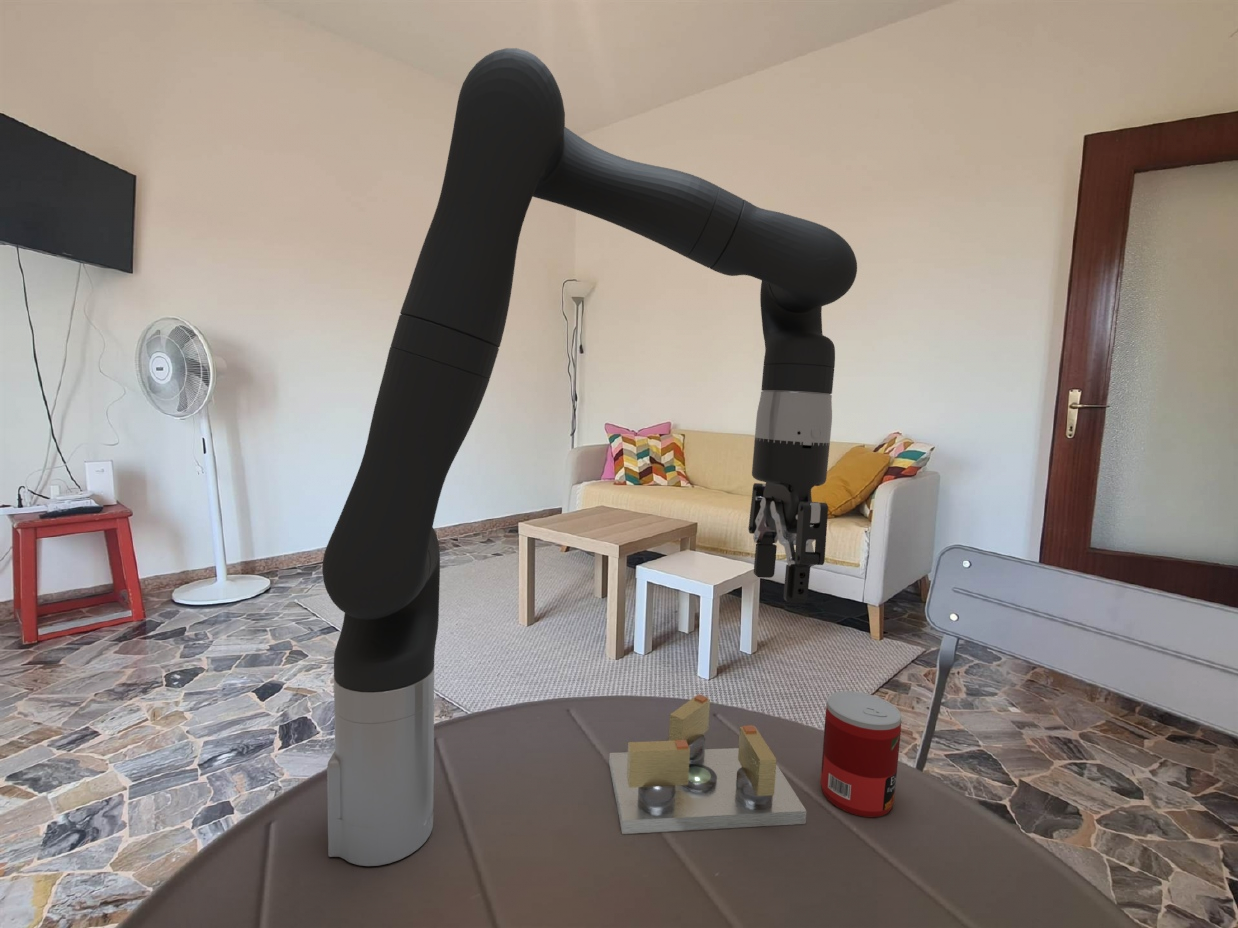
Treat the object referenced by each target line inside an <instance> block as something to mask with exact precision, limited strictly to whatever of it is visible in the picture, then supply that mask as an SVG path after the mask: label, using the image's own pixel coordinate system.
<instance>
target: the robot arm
mask: <svg viewBox="0 0 1238 928" xmlns="http://www.w3.org/2000/svg"><path fill="white" fill-rule="evenodd" d="M454 117H455V118H454V123H453V129H452V134H451V139H450V140H451V141H450V146H449V150H448V156H447V161H446V167H445V171H444V177H443V182H442V186H441V191H440V195H439V198H438V201H437V205H436V209H435V212H434V215H433V217H432V220H431V222H430V225H429V227H428V231H427V233H426V236H425V239H424V241H423V244H422V247H421V249H420V251H419V256H418V258H417V261H416V264H415V267H414V271H413V274H412V277H411V280H410V283H409V286H408V289H407V291H406V295H405V298H404V301H403V303H402V307H401V309H400V314H399V316H398V320H397V323H396V326H395V330H394V333H393V336H392V339H391V344H390V347H389V349H388V353H387V357H386V358H387V359H386V363H385V366H384V370H383V375H382V378H381V382H380V386H379V388H378V394H377V397H376V401H375V405H374V409H373V413H372V418H371V423H370V427H369V431H368V436H367V442H366V445H365V448H364V453H363V456H362V459H361V463H360V465H359V468H358V471H357V474H356V476H355V479H354V481H353V483H352V485H351V488H350V491H349V494H348V496H347V498H346V501H345V503H344V506H343V508H342V510H341V513H340V515H339V517H338V520H337V522H336V524H335V526H334V529H333V530H332V533H331V534H330V537H329V540H328V543H327V544H326V549H325V551H324V554H323V559H322V569H321V571H322V578H323V585H324V587H325V590H326V592H327V595H328V596H329V598H330V600H331V601H332V603H333V604H334V605H335V606H336V607H337V608H338V609H339V610H340V611H342V612H343V613H344V615H343V622H342V626H341V631H340V633H339V638H338V641H337V643H336V646H335V649H334V652H333V653H334V654H333V690H334V693H333V695H334V696H333V697H334V698H333V699H334V700H333V702H334V703H333V704H334V751H333V753H332V754H331V756H330V758H329V760H328V761H327V766H326V774H327V776H326V777H327V779H326V781H327V786H326V787H327V851H328V854H327V855H328V857H330V858H333V857H335V858H336V857H339V858H341V859H343V860H345V861H346V862H348V863H350V864H354V865H357V866H364V867H375V866H376V867H378V866H383V865H387V864H391V863H394V862H397V861H400V860H402V859H405V858H406V857H408V856H410V855H412V854H413V853H415V852H416V851H418V850H419V849H420V848H421V847H422V846H423V845H424V844H425V843H426V842H427V840H428V839H429V837H430V836H431V833H432V832H433V827H434V812H435V810H434V809H435V804H434V802H435V801H434V784H435V783H434V781H435V779H434V769H435V767H434V763H435V762H434V756H435V754H434V752H435V751H434V750H435V748H434V747H435V745H434V744H435V743H434V742H435V728H434V726H435V652H436V650H435V649H436V643H437V638H438V637H437V636H438V629H439V618H440V617H439V616H440V615H439V614H440V578H441V574H440V573H441V554H440V553H441V551H440V544H439V539H438V536H437V533H436V530H435V528H434V522H435V518H436V513H437V509H438V505H439V500H440V497H441V494H442V490H443V487H444V484H445V481H446V478H447V476H448V473H449V471H450V468H451V467H452V464H453V462H454V461H455V458H456V456H457V454H458V452H459V450H460V448H461V447H462V445H463V443H464V441H465V439H466V437H467V435H468V433H469V430H470V428H471V427H472V424H473V422H474V420H475V418H476V416H477V413H478V412H479V408H480V406H481V405H482V402H483V398H484V396H485V394H486V391H487V388H488V386H489V382H490V381H491V376H492V373H493V371H494V367H495V363H496V359H497V357H498V354H499V350H500V349H499V348H500V347H501V345H502V344H501V343H502V340H503V335H504V331H505V327H506V322H507V318H508V313H509V308H510V302H511V295H512V289H513V281H514V273H515V265H516V259H517V250H518V246H519V240H520V236H521V235H520V234H521V231H522V226H524V225H523V224H524V222H525V218H526V215H527V212H528V209H529V207H530V204H531V201H532V199H533V198H535V199H540V200H544V201H547V202H551V203H554V204H557V205H561V206H564V207H567V208H570V209H573V210H576V211H579V212H581V213H585V214H587V215H591V216H592V217H596V218H597V219H598V218H599V219H601V220H603V221H607V222H608V223H611V224H614V225H616V226H618V227H621V228H623V229H626V230H628V231H630V232H632V233H635V234H637V235H640V236H642V237H644V238H646V239H648V240H650V241H652V242H654V243H657V244H659V245H660V246H663V247H665V248H667V249H669V250H671V251H673V252H676V253H677V254H679V255H681V256H683V257H685V258H687V259H689V260H691V261H693V262H695V263H697V264H700V265H702V266H703V267H706V268H707V269H710V270H711V271H713V272H716V273H720V274H722V275H726V276H729V277H737V276H747V277H752V278H755V279H757V280H759V281H761V283H760V284H761V285H760V293H759V294H760V295H759V297H760V298H759V299H760V300H759V301H760V315H761V326H762V334H763V340H764V341H763V342H764V345H765V346H764V348H765V349H764V350H765V351H764V356H763V357H764V358H763V369H762V380H761V389H760V390H761V391H760V398H759V401H758V405H757V410H756V411H757V412H756V421H755V430H754V431H755V432H754V443H753V444H754V446H753V456H752V466H751V467H752V468H751V476H752V477H753V479H755V480H756V481H759V482H763V483H758V482H757V483H755V482H754V483H753V485H752V490H751V491H752V492H751V494H752V495H751V503H750V512H749V522H748V532H749V534H752V535H753V538H752V539H753V542H754V543H755V550H754V551H755V552H754V563H753V574H754V575H755V577H757V578H766V579H767V578H769V579H770V578H773V577H775V572H776V570H775V569H776V559H777V551H778V550H777V548H778V545H776V544H777V543H779V544H780V545H781V546H783V548H784V553H785V557H786V558H785V559H786V563H787V564H785V565H786V566H785V574H784V575H785V578H784V585H783V595H782V596H783V599H784V601H786V602H787V604H788V603H789V604H805V603H806V602H807V600H808V595H809V594H808V593H809V585H810V575H811V574H810V573H811V567H814V566H823V565H824V564H825V559H826V545H827V543H826V542H827V533H828V532H827V530H828V529H827V528H828V517H829V515H828V514H829V507H828V503H827V502H821V501H820V502H819V501H813V499H812V489H813V487H819V486H823V485H824V484H825V483H826V481H827V476H828V464H829V454H830V445H831V435H832V425H833V403H832V402H833V401H832V398H833V397H832V394H833V387H834V386H833V385H834V377H835V367H836V349H835V345H834V343H833V341H832V339H831V338H829V337H828V336H825V335H823V318H822V311H823V310H822V309H823V308H822V307H824V306H826V305H827V306H828V305H829V304H832V303H834V302H836V301H838V300H839V299H840V298H842V297H843V296H845V295H846V294H847V292H849V290H850V289H851V288H852V286H853V285H854V283H855V280H856V277H857V273H858V261H857V257H856V255H855V252H854V250H853V248H852V246H851V245H850V244H849V242H848V241H847V240H846V239H844V237H843V236H841V235H840V234H839V233H837V232H836V231H834V230H833V229H830V228H829V227H827V226H825V225H822V224H821V223H817V222H814V221H811V220H808V219H804V218H801V217H797V216H794V215H791V214H790V215H789V214H787V213H784V212H780V211H779V212H778V211H775V210H769V209H765V208H761V207H759V206H756V205H754V204H753V203H752V202H750V201H747V200H746V199H743V198H742V197H740V196H738V195H736V194H734V193H733V192H730V191H728V190H726V189H724V188H722V187H721V186H718V185H717V184H715V183H713V182H711V181H708V180H706V179H704V178H702V177H699V176H696V175H694V174H691V173H688V172H684V171H680V170H677V169H673V168H668V167H663V166H659V165H652V164H647V163H643V162H639V161H635V160H631V159H627V158H625V157H621V156H619V155H616V154H613V153H610V152H608V151H605V150H604V149H602V148H599V147H597V146H596V145H594V144H592V143H590V142H588V140H585V139H584V138H582V137H580V136H579V135H577V134H576V133H574V132H573V131H572V130H571V129H570V128H568V127H566V121H565V120H566V118H565V117H566V113H565V106H564V100H563V97H562V93H561V90H560V88H559V85H558V83H557V80H556V79H555V77H554V75H553V73H552V71H551V70H550V69H549V67H548V66H547V65H546V64H545V63H544V62H543V61H542V60H541V59H540V58H539V57H538V56H536V55H535V54H533V53H532V52H529V51H528V50H525V49H520V48H517V47H515V48H513V47H512V48H511V47H507V48H506V47H505V48H501V49H498V50H494V51H493V52H491V53H488V54H487V55H485V56H484V57H482V58H481V59H480V60H478V61H477V62H476V63H475V64H474V66H473V67H472V68H471V70H470V71H469V72H468V73H467V76H466V78H465V79H464V80H463V82H462V86H461V89H460V91H459V95H458V99H457V104H456V111H455V116H454ZM813 542H815V543H814V544H815V545H813ZM813 546H814V547H813Z"/></svg>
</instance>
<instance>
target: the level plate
mask: <svg viewBox="0 0 1238 928" xmlns="http://www.w3.org/2000/svg"><path fill="white" fill-rule="evenodd" d="M738 751H739V747H733V748H732V747H731V748H730V747H729V748H708V749H707V748H705V757H704V762H703V763H702V764H689V778H688V785H676V788H675V806H674V809H673V810H672V811H671V812H670V813H668V814H665V815H652V814H648V813H646V812H644V811H643V810H642V809H641V808H640V807H639V805H638V787H633V788H629V785H628V781H627V758H628V751H626V752H609V762H608V765H609V770H610V777H611V782H612V786H613V792H614V799H615V803H616V809H617V813H618V819H619V825H620V830H621V834H622V835H632V834H633V835H634V834H648V833H649V834H650V833H665V832H666V833H667V832H668V833H669V832H683V831H685V832H686V831H699V830H700V831H701V830H718V829H720V830H721V829H736V828H737V829H738V828H740V829H741V828H755V827H757V828H758V827H772V826H793V825H806V824H807V810H806V808H805V806H804V805H803V803H802V801H801V800H800V799H799V798H800V797H798V796H797V794H796V792H795V790H794V789H793V787H792V786H791V784H790V783H789V781H788V780H787V778H786V777H785V775H784V773H783V772H782V771H781V769H780V767H779V765H778V764H777V763H776V775H775V789H774V795H773V800H772V805H771V806H770V807H769V808H767V809H764V810H753V809H749V808H747V807H745V806H743V805H741V804H740V803H739V802H738V801H737V799H736V796H735V794H736V778H737V771H738V770H739V769H740V768H741V767H742V766H741V764H740V763H739V761H738Z"/></svg>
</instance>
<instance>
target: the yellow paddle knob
mask: <svg viewBox="0 0 1238 928" xmlns="http://www.w3.org/2000/svg"><path fill="white" fill-rule="evenodd" d="M710 705H711V699H710V698H708V697H707V696H705V695H702V694H697V695H695V696H694V697H692V698H691V699H690V700H688V701H687V702H686V703H684V704H682V705H681V706H679V708H677V709H676V710H674V711H673V712H671V713H670V714H669V727H668V728H669V730H668V732H669V733H668V741H675V740H686V741H687V744H688V746H689V748H690V760H689V764H702V763H703V762H704V757H705V749H706V737H705V735H704V734H705V733H706V732H708V731H709V725H710V710H711V709H710V708H711V706H710Z"/></svg>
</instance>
